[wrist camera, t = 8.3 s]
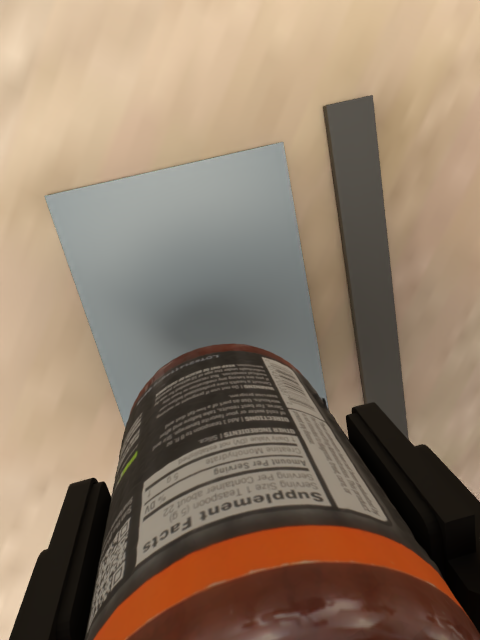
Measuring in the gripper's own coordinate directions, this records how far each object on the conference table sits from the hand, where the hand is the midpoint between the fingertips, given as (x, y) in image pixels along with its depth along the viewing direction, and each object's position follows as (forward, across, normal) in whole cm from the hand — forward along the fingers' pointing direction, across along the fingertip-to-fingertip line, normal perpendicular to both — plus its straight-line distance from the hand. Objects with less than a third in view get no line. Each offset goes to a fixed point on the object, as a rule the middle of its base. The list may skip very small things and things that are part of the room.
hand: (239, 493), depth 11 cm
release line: (+11, -8, 0) cm, 13 cm away
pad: (+11, 0, 0) cm, 11 cm away
